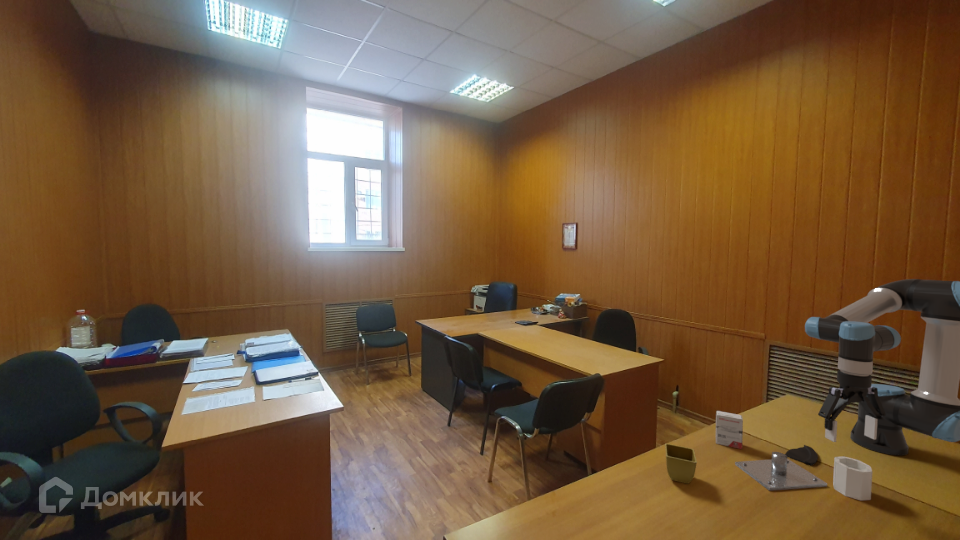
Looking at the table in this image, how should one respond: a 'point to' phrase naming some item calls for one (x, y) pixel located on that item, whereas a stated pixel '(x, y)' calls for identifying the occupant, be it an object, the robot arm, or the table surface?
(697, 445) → the table surface
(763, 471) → the duct plate
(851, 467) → the octagonal hollow tube
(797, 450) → the curved wedge
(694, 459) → the flower pot
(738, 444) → the ink box
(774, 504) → the table surface
